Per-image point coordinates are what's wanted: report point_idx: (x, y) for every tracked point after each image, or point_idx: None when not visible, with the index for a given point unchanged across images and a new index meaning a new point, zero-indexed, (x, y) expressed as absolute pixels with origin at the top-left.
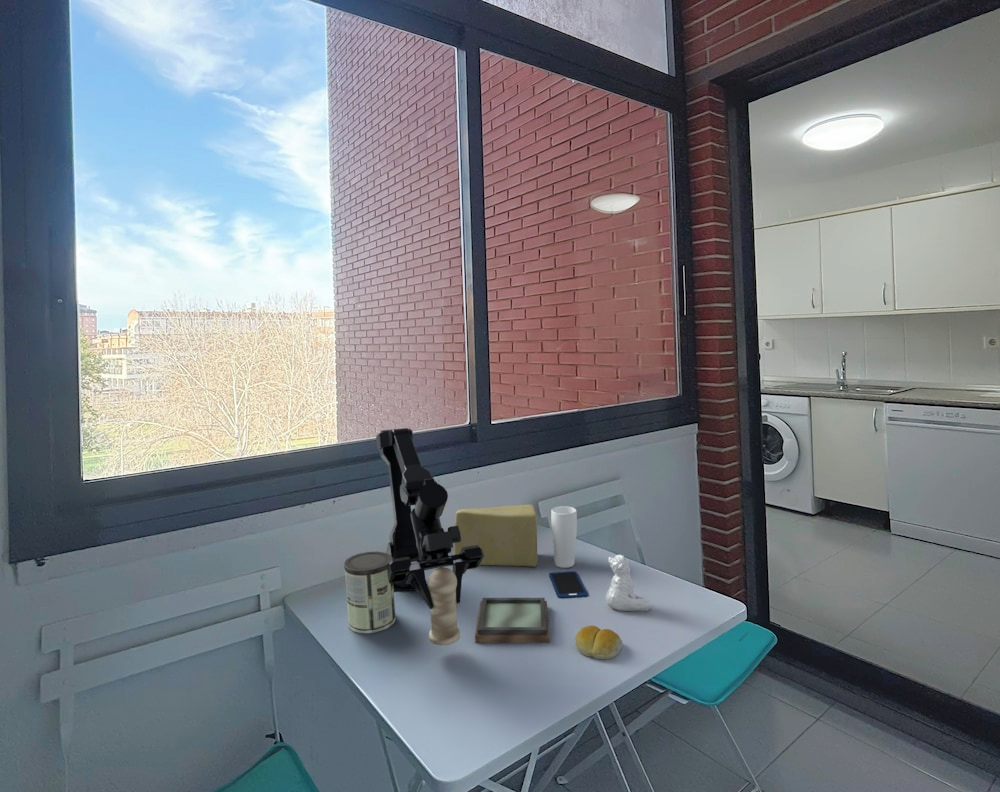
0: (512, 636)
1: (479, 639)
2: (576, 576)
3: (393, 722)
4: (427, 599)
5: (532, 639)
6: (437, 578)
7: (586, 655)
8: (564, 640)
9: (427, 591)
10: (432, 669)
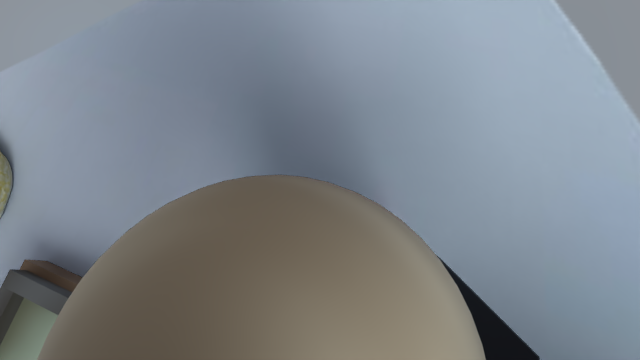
0: None
1: None
2: None
3: (557, 16)
4: (473, 293)
5: (76, 278)
6: (347, 223)
7: (8, 162)
8: (8, 258)
9: (482, 343)
10: (421, 232)
